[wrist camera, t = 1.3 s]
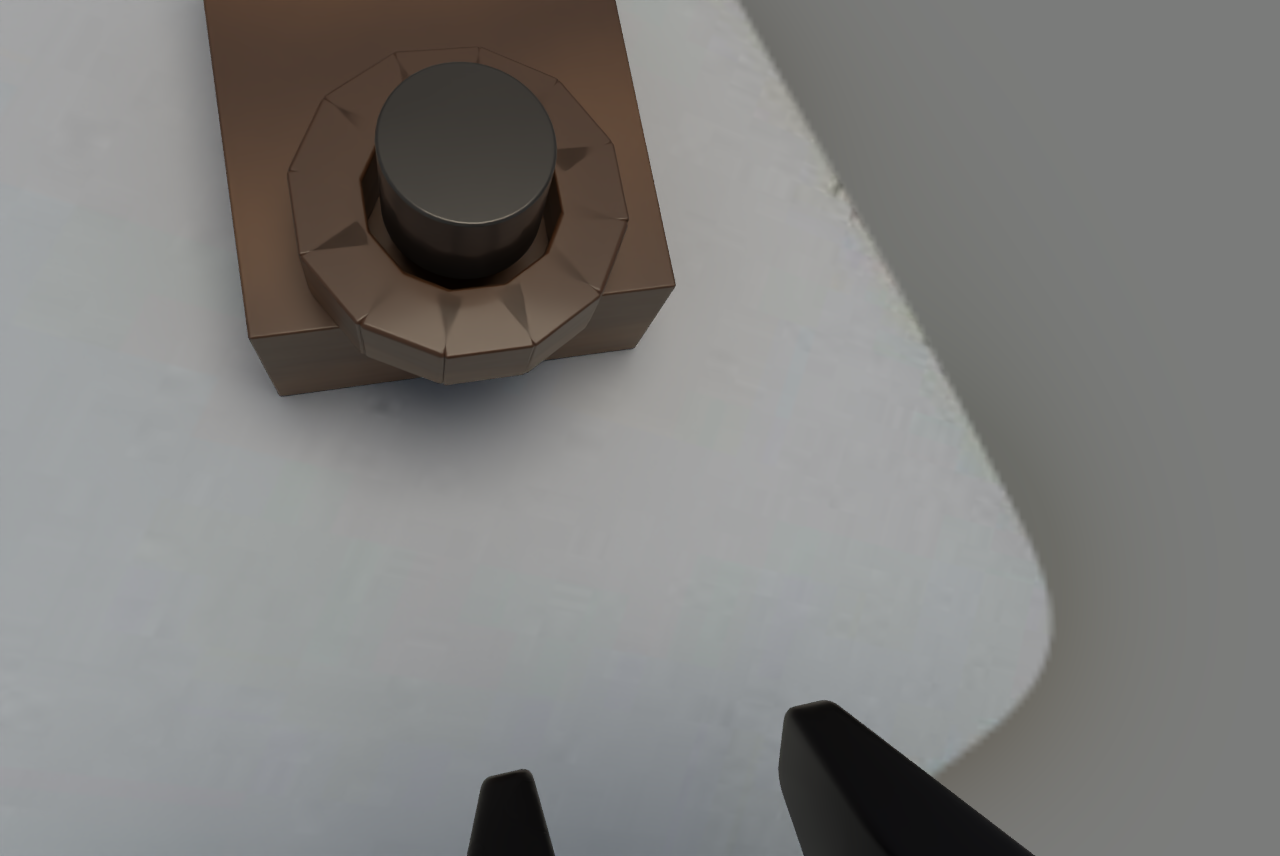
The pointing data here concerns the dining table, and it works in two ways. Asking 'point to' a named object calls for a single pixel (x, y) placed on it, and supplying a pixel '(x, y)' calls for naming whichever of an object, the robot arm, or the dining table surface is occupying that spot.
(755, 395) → the dining table surface
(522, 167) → the bell button
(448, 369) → the brown push button box
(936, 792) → the robot arm
